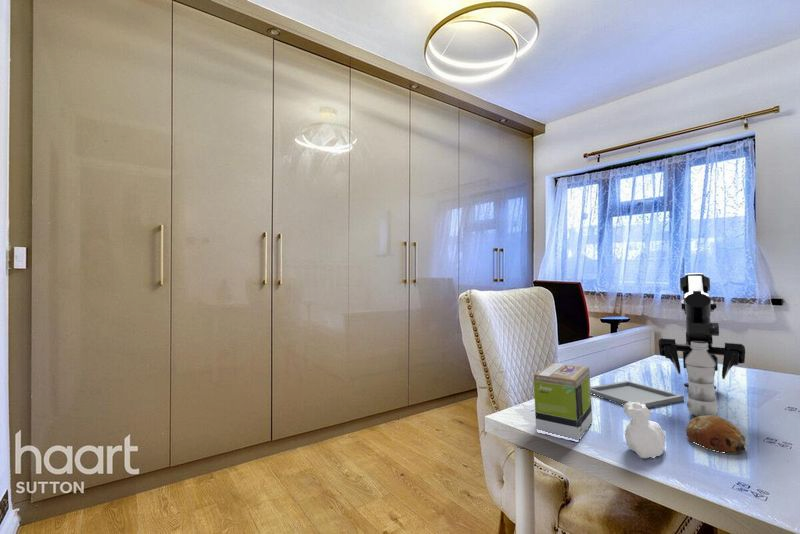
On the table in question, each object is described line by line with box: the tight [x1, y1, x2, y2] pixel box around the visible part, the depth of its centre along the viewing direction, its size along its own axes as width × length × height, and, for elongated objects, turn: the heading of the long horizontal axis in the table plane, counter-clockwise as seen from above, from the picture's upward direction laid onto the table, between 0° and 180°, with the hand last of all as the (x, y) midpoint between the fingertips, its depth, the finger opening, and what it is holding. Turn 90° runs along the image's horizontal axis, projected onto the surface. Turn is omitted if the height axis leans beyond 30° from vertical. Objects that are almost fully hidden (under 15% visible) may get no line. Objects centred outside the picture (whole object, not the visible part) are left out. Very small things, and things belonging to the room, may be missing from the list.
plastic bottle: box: [685, 341, 720, 417], centre depth 98 cm, size 6×7×20 cm
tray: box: [590, 380, 685, 409], centre depth 115 cm, size 20×18×2 cm
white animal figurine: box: [622, 402, 666, 459], centre depth 80 cm, size 12×8×11 cm
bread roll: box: [685, 415, 747, 454], centre depth 82 cm, size 10×10×8 cm
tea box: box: [533, 362, 593, 440], centre depth 92 cm, size 15×10×15 cm
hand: (700, 375), depth 99 cm, fingers open, 9 cm apart
